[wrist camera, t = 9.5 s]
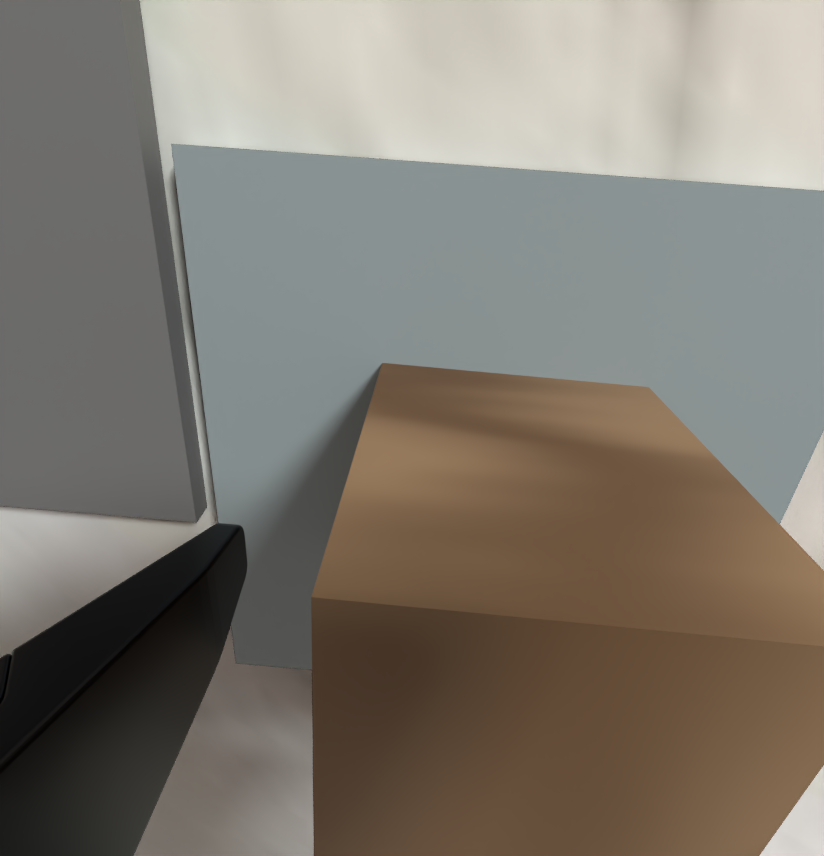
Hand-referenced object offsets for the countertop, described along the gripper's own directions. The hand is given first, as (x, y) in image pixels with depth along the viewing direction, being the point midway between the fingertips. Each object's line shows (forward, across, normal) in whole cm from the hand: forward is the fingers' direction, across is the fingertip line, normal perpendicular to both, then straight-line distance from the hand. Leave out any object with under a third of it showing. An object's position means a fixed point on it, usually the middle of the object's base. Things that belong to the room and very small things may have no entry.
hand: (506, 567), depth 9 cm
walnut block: (+2, 0, 0) cm, 2 cm away
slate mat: (+3, 0, 0) cm, 3 cm away
